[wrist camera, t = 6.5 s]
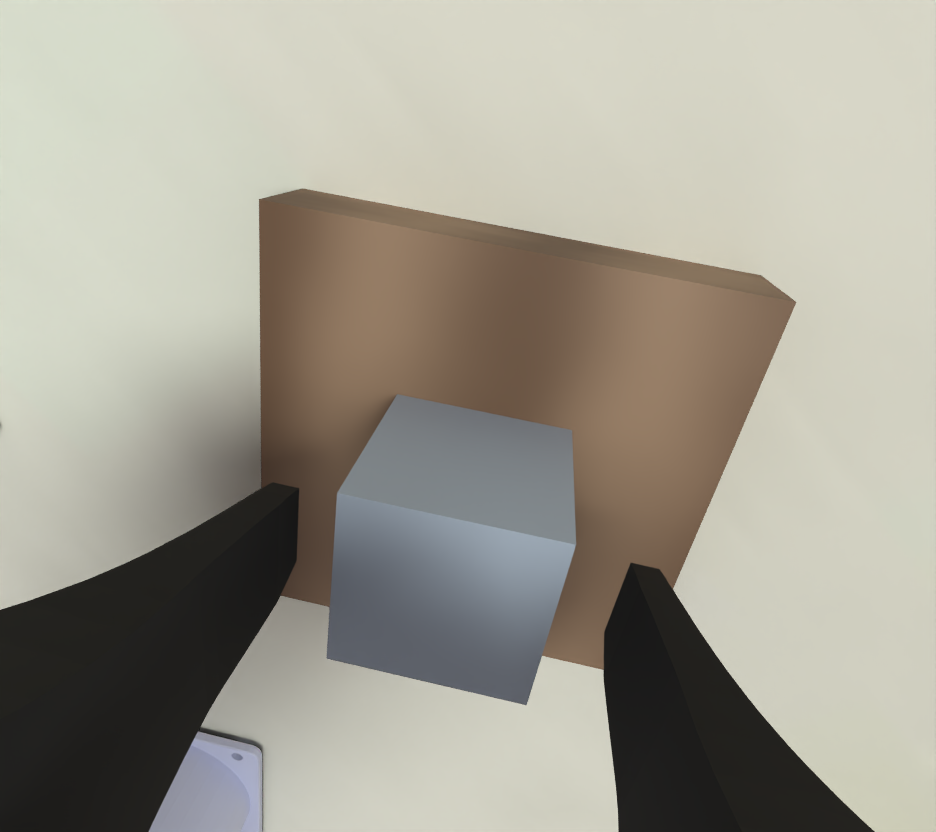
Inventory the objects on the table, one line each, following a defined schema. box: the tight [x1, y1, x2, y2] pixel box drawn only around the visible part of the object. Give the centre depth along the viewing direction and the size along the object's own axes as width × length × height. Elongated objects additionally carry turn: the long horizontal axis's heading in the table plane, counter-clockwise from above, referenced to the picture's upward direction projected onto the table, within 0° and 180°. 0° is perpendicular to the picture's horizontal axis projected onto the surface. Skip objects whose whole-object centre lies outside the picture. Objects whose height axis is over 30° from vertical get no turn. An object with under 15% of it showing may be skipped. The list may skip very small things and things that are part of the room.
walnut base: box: [259, 189, 796, 670], centre depth 17 cm, size 12×12×3 cm
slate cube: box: [327, 394, 576, 705], centre depth 14 cm, size 4×4×4 cm
